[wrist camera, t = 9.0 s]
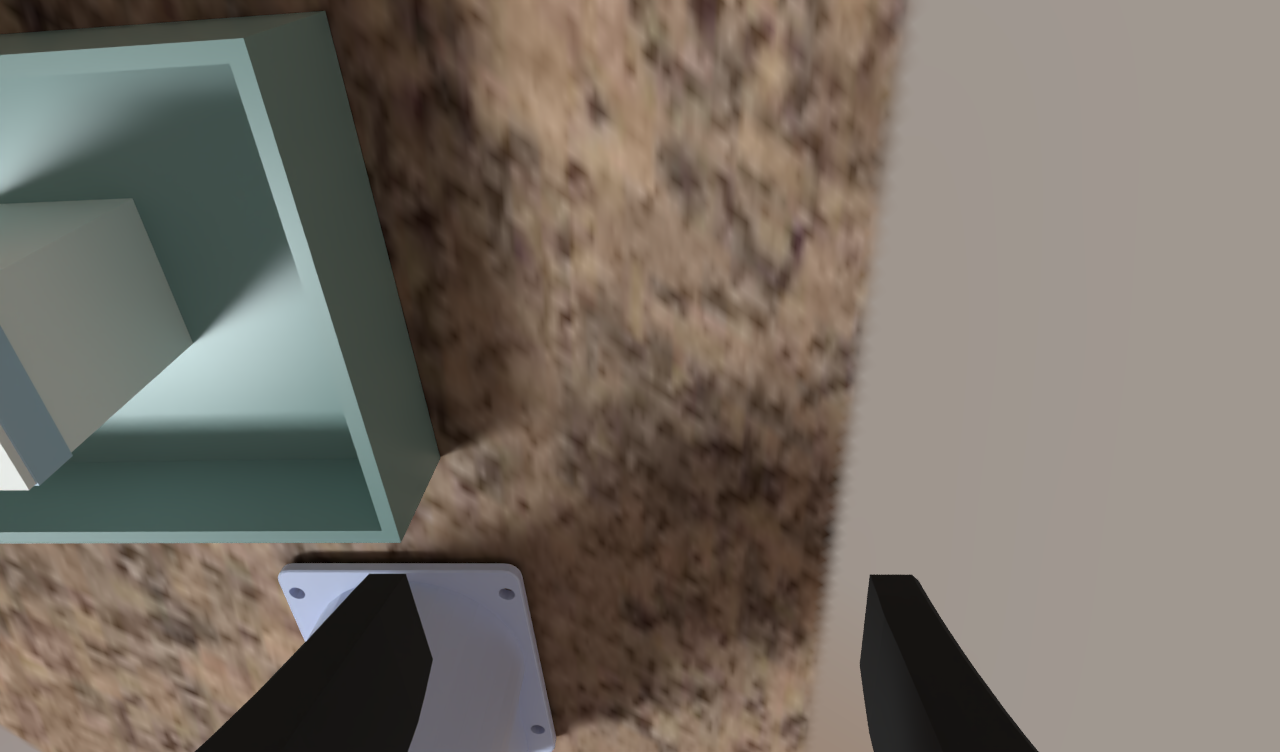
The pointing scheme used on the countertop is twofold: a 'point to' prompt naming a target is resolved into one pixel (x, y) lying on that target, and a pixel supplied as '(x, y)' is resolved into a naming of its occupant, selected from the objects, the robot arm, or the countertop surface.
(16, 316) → the milk carton
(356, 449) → the tray
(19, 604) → the countertop surface
